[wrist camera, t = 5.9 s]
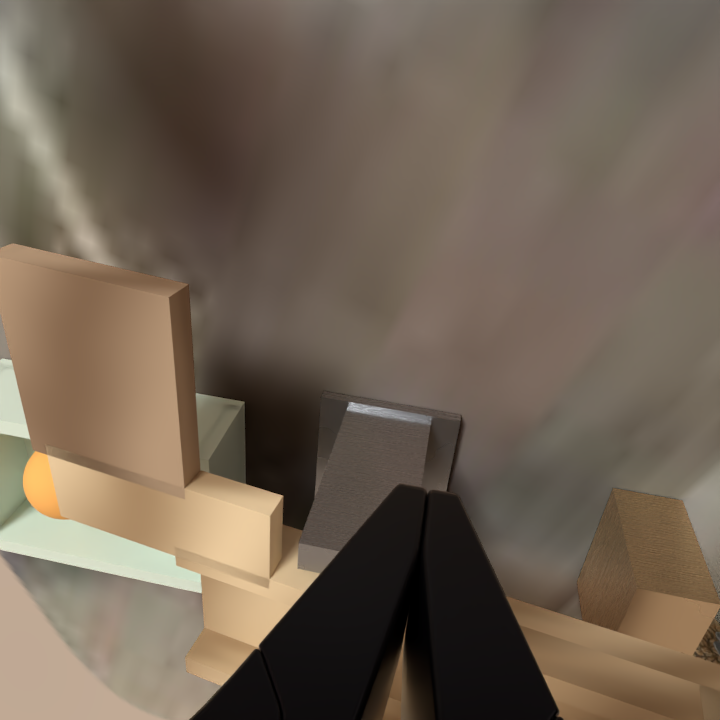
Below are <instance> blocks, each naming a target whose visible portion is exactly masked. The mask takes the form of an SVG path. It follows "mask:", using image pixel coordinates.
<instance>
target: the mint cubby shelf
mask: <svg viewBox="0 0 720 720" xmlns="http://www.w3.org/2000/svg"><path fill="white" fill-rule="evenodd" d="M196 407H197V423H198V439H199V455H200V470H202V471H205V472H208V473H211V474H214V475H218V476H221V477H224V478H227V479H231V480H234V481H237V482H240V483H244V484H246V460H245V402H243V401H237V400H232V399H226V398H221V397H215V396H209V395H204V394H198V393H196ZM34 452H35V451H34V450H33V449H32V444H31V440H30V436H29V432H28V428H27V423H26V419H25V415H24V411H23V406H22V402H21V398H20V394H19V390H18V385H17V381H16V377H15V373H14V368H13V364H12V360H8V359H1V360H0V550H4V551H9V552H14V553H18V554H23V555H28V556H32V557H37V558H41V559H46V560H51V561H55V562H60V563H64V564H69V565H74V566H78V567H83V568H87V569H92V570H97V571H101V572H106V573H110V574H115V575H120V576H124V577H129V578H133V579H138V580H143V581H147V582H152V583H156V584H161V585H166V586H170V587H175V588H179V589H184V590H189V591H193V592H198V593H202V586H201V574H199V573H196V572H193V571H190V570H187V569H185V568H182V567H179V566H176V558H175V556H174V555H171V554H168V553H165V552H162V551H159V550H156V549H154V548H151V547H148V546H145V545H142V544H139V543H137V542H134V541H131V540H128V539H125V538H122V537H119V536H117V535H114V534H111V533H108V532H105V531H102V530H99V529H97V528H94V527H91V526H88V525H85V524H82V523H79V522H77V521H74V520H71V519H70V520H61V519H54V518H51V517H48V516H46V515H44V514H42V513H40V512H39V511H37V510H36V509H35V508H34V507H33V506H32V505H31V503H30V502H29V501H28V499H27V497H26V495H25V492H24V488H23V474H24V470H25V467H26V464H27V462H28V460H29V459H30V457H31V456H32V454H33V453H34Z"/></svg>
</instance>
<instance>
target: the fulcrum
mask: <svg viewBox="0 0 720 720" xmlns="http://www.w3.org/2000/svg"><path fill="white" fill-rule="evenodd" d="M460 421H461V415H459V414H453V413H447V412H441V411H436V410H430V409H424V408H418V407H413V406H407V405H401V404H395V403H390V402H384V401H378V400H372V399H367V398H361V397H355V396H349V395H344V394H338V393H332V392H326V391H323V393H322V395H321V403H320V419H319V436H318V452H317V469H316V485H315V499H314V502H313V504H312V507H311V510H310V513H309V516H308V518H307V521H306V524H305V527H304V529H303V532H302V535H301V538H300V541H299V545H298V568H297V569H302V570H306V571H311V572H316V573H321V572H322V571H323V570H324V569H325V567H326V566H327V565H328V564H329V563H330V562H331V561H332V559H333V558H334V557H335V556H336V555H337V554H338V552H339V551H340V550H341V549H342V548H343V547H344V545H345V544H346V543H347V542H348V541H349V540H350V539H351V537H352V536H353V535H354V534H355V533H356V532H357V530H358V529H359V528H360V527H361V526H362V525H363V524H364V522H365V521H366V520H367V519H368V518H369V517H370V515H371V514H372V513H373V512H374V511H375V510H376V508H377V507H378V506H379V505H380V504H381V503H382V502H383V500H384V499H385V498H386V497H387V496H388V495H389V493H390V492H391V491H392V490H393V489H394V488H395V487H396V486H397V485H398V484H401V483H402V484H408V485H414V486H419V487H423V488H425V489H426V490H427V494H428V492H429V491H430V490H432V489H435V490H440V491H446V490H447V485H448V480H449V475H450V470H451V465H452V460H453V456H454V451H455V446H456V441H457V436H458V431H459V426H460ZM577 585H578V592H579V600H580V607H581V614H582V621H585V622H588V623H591V624H594V625H597V626H600V627H603V628H607V629H610V630H613V631H616V632H619V633H622V634H625V635H628V636H631V637H635V638H638V639H641V640H644V641H647V642H650V643H653V644H656V645H659V646H663V647H666V648H669V649H672V650H675V651H678V652H681V653H684V654H687V655H691V656H693V654H694V652H695V650H696V649H697V647H698V645H699V643H700V642H701V640H702V638H703V636H704V635H705V633H706V631H707V629H708V628H709V626H710V624H711V622H712V621H713V619H714V617H715V616H716V614H717V612H718V610H719V609H720V600H719V597H718V595H717V592H716V589H715V587H714V584H713V581H712V579H711V576H710V573H709V571H708V568H707V565H706V562H705V560H704V557H703V554H702V552H701V549H700V546H699V544H698V541H697V538H696V536H695V533H694V530H693V528H692V525H691V522H690V520H689V517H688V514H687V512H686V509H685V506H684V503H683V501H682V500H676V499H671V498H665V497H660V496H654V495H649V494H643V493H638V492H632V491H627V490H621V489H616V488H613V489H612V492H611V495H610V497H609V500H608V502H607V505H606V508H605V510H604V513H603V515H602V518H601V521H600V523H599V526H598V528H597V531H596V534H595V536H594V539H593V541H592V544H591V547H590V549H589V552H588V555H587V557H586V560H585V562H584V565H583V568H582V570H581V573H580V575H579V578H578V581H577Z"/></svg>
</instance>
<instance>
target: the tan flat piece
mask: <svg viewBox="0 0 720 720" xmlns="http://www.w3.org/2000/svg"><path fill="white" fill-rule="evenodd" d="M0 313H1V318H2V322H3V326H4V330H5V335H6V339H7V343H8V347H9V352H10V356H11V360H12V364H13V368H14V373H15V377H16V381H17V385H18V390H19V394H20V398H21V402H22V406H23V411H24V415H25V419H26V423H27V428H28V432H29V436H30V440H31V444H32V449H33V450H34V451H37V452H40V453H43V454H46V455H47V456H48V461H49V465H50V470H51V474H52V479H53V483H54V488H55V492H56V497H57V501H58V506H59V510H60V515H61V516H62V517H65V518H68V519H71V520H74V521H77V522H79V523H82V524H85V525H88V526H91V527H94V528H97V529H99V530H102V531H105V532H108V533H111V534H114V535H117V536H119V537H122V538H125V539H128V540H131V541H134V542H137V543H139V544H142V545H145V546H148V547H151V548H154V549H156V550H159V551H162V552H165V553H168V554H171V555H174V556H175V558H176V566H179V567H182V568H185V569H187V570H190V571H193V572H196V573H199V574H201V586H202V600H203V614H204V629H203V631H202V632H201V634H200V635H199V637H198V639H197V640H196V642H195V643H194V645H193V646H192V648H191V649H190V651H189V652H188V654H187V656H186V657H185V659H186V669H187V672H188V673H191V674H193V675H196V676H198V677H201V678H203V679H206V680H208V681H211V682H213V683H216V684H218V685H221V686H222V685H223V684H224V683H225V682H226V681H227V680H228V679H229V678H230V677H231V676H232V674H233V673H234V672H235V671H236V670H237V669H238V668H239V666H240V665H241V664H242V663H243V662H244V661H245V660H246V658H247V657H248V656H249V655H250V654H251V653H252V651H253V650H254V649H259V644H260V643H261V641H262V640H263V639H264V638H265V637H266V636H267V635H268V633H269V632H270V631H271V630H272V629H273V628H274V626H275V625H276V624H277V623H278V622H279V621H280V620H281V618H282V617H283V616H284V615H285V614H286V613H287V611H288V610H289V609H290V608H291V607H292V606H293V604H294V603H295V602H296V601H297V600H298V599H299V598H300V596H301V595H302V594H303V593H304V592H305V591H306V589H307V588H308V587H309V586H310V585H311V584H312V582H313V581H314V580H315V579H316V578H317V577H318V576H319V574H320V573H316V572H311V571H306V570H302V569H297V568H298V545H299V541H300V538H301V535H302V532H303V531H302V530H299V529H296V528H292V527H289V526H286V525H283V496H282V495H279V494H276V493H273V492H269V491H266V490H263V489H260V488H256V487H253V486H250V485H247V484H244V483H240V482H237V481H234V480H231V479H227V478H224V477H221V476H218V475H214V474H211V473H208V472H205V471H202V470H200V455H199V439H198V423H197V407H196V392H195V376H194V360H193V344H192V328H191V312H190V297H189V284H186V283H182V282H177V281H173V280H169V279H164V278H160V277H156V276H151V275H147V274H143V273H138V272H134V271H130V270H125V269H121V268H117V267H112V266H108V265H104V264H99V263H95V262H91V261H86V260H82V259H78V258H74V257H69V256H65V255H61V254H56V253H52V252H48V251H43V250H39V249H35V248H30V247H26V246H22V245H17V244H13V243H12V244H10V245H7V246H5V247H2V248H0ZM506 597H507V596H506ZM507 600H508V602H509V604H510V606H511V608H512V610H513V612H514V615H515V617H516V619H517V621H518V623H519V625H520V627H521V630H522V632H523V634H524V636H525V638H526V640H527V642H528V644H529V647H530V649H531V651H532V653H533V655H534V657H535V659H536V662H537V664H538V666H539V668H540V670H541V672H542V674H543V677H544V679H545V681H546V683H547V685H548V687H549V689H550V692H551V694H552V696H553V698H554V700H555V702H556V704H557V706H558V709H559V711H560V714H559V716H558V717H562V718H563V719H564V720H720V665H719V664H715V663H712V662H709V661H706V660H703V659H700V658H697V657H694V656H691V655H687V654H684V653H681V652H678V651H675V650H672V649H669V648H666V647H663V646H659V645H656V644H653V643H650V642H647V641H644V640H641V639H638V638H635V637H631V636H628V635H625V634H622V633H619V632H616V631H613V630H610V629H607V628H603V627H600V626H597V625H594V624H591V623H588V622H585V621H582V620H579V619H575V618H572V617H569V616H566V615H563V614H560V613H557V612H554V611H551V610H548V609H544V608H541V607H538V606H535V605H532V604H529V603H526V602H523V601H520V600H516V599H513V598H510V597H507ZM405 630H406V628H405ZM404 638H405V634H404ZM403 647H404V639H403V645H402V650H401V654H400V658H399V662H398V666H397V669H396V673H395V677H394V680H393V684H392V687H391V691H390V694H389V698H388V702H387V705H386V709H385V712H384V716H383V719H382V720H401V693H402V662H403Z"/></svg>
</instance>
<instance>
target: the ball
mask: <svg viewBox="0 0 720 720" xmlns="http://www.w3.org/2000/svg"><path fill="white" fill-rule="evenodd" d="M23 488H24V492H25V495H26V497H27V499H28V501H29V502H30V503H31V505H32V506H33V507H34V508H35V509H36V510H37V511H39V512H40V513H42V514H44V515H46V516H48V517H51V518H54V519H61V520H70V519H68V518H65V517H62V516H61V515H60V510H59V506H58V501H57V497H56V492H55V488H54V483H53V479H52V474H51V470H50V465H49V461H48V456H47V455H46V454H43V453H40V452H37V451H35V452H34V453H33V454H32V456H31V457H30V459H29V460H28V462H27V464H26V467H25V470H24V474H23Z"/></svg>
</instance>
